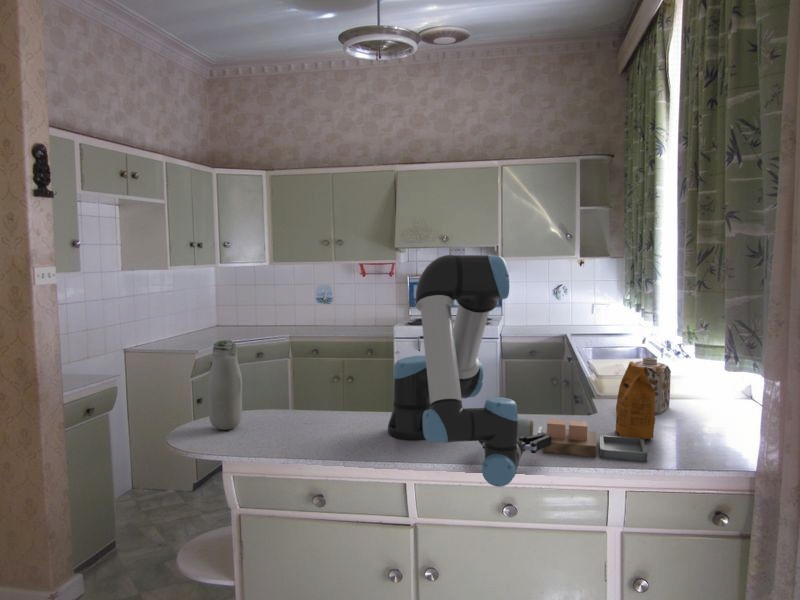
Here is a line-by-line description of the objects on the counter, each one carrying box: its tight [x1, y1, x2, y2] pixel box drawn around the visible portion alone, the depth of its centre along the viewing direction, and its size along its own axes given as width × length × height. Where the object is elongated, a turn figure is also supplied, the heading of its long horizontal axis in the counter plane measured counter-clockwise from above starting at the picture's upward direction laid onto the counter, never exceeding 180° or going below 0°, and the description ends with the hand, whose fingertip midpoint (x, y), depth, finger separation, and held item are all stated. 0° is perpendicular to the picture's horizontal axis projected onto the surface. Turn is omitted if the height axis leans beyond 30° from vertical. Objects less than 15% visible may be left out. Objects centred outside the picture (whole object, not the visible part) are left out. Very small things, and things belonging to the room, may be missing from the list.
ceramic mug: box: [517, 417, 534, 437], centre depth 188 cm, size 11×8×8 cm
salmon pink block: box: [546, 418, 567, 439], centre depth 184 cm, size 5×5×4 cm
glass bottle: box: [207, 339, 243, 431], centre depth 199 cm, size 10×10×28 cm
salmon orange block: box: [568, 420, 588, 441], centre depth 182 cm, size 5×5×4 cm
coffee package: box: [615, 361, 656, 440], centre depth 193 cm, size 10×12×22 cm
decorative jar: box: [633, 357, 672, 415], centre depth 225 cm, size 12×12×18 cm
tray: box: [599, 434, 648, 462], centre depth 179 cm, size 12×14×2 cm
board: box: [543, 428, 597, 458], centre depth 183 cm, size 14×14×3 cm
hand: (516, 429), depth 180 cm, fingers open, 13 cm apart
